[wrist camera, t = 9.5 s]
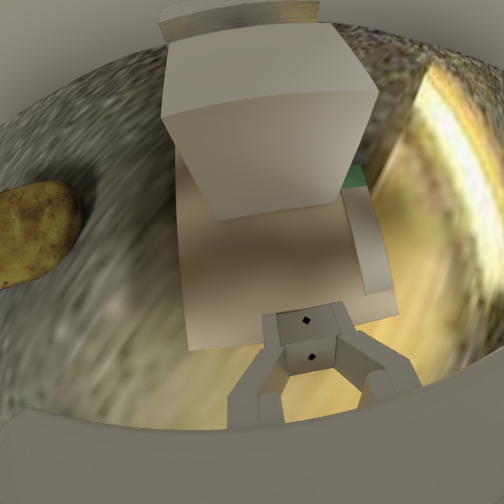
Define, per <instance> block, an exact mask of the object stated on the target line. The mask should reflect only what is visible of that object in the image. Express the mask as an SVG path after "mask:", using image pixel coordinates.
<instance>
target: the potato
mask: <svg viewBox="0 0 504 504" xmlns="http://www.w3.org/2000/svg"><path fill="white" fill-rule="evenodd" d="M84 210H85V207H84V199H83V196H82V195H81V194H80V193H79V192H78V191H77V190H76V189H75V188H73V187H72V186H71V185H70V184H68V183H66V182H64V181H60V180H47V181H41V182H36V183H31V184H28V185H24V186H21V187H17V188H13V189H5V190H3V192H0V291H1V290H3V289H6V288H9V287H13V286H15V285H17V284H19V283H22V282H25V281H33V280H36V279H39V278H41V277H42V276H44V275H46V274H47V273H49V272H50V271H51V270H53V269H54V268H55V267H56V266H57V265H58V264H59V263H60V262H61V261H62V260H63V259H64V257H65V256H66V255H67V254H68V252H69V250H70V249H71V247H72V245H73V243H74V242H75V240H76V238H77V236H78V234H79V232H80V230H81V228H82V225H83V222H84Z"/></svg>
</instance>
